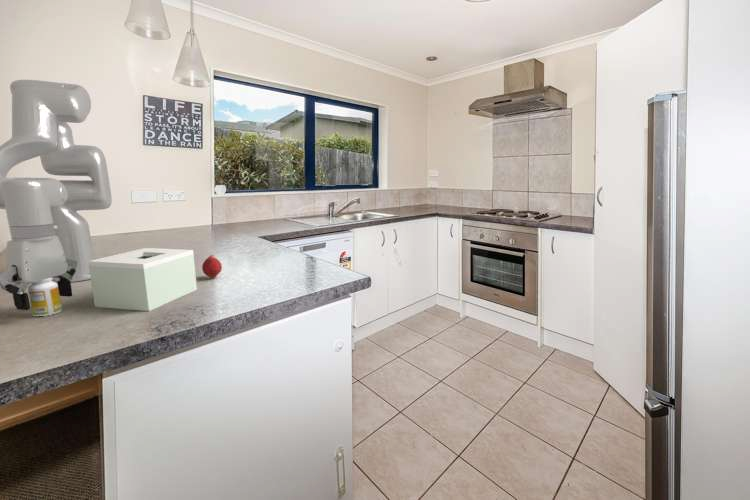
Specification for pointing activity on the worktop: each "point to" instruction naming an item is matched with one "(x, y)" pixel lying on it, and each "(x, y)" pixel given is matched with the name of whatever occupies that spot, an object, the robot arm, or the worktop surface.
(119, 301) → the caddy
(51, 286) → the supplement bottle
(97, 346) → the worktop surface
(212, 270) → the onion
